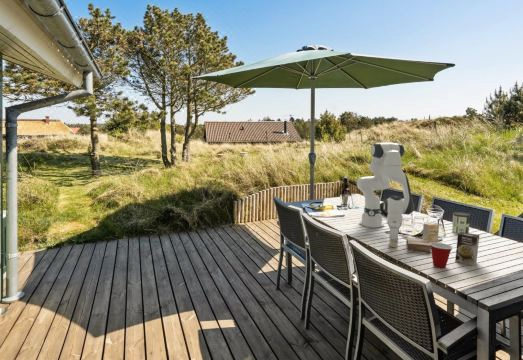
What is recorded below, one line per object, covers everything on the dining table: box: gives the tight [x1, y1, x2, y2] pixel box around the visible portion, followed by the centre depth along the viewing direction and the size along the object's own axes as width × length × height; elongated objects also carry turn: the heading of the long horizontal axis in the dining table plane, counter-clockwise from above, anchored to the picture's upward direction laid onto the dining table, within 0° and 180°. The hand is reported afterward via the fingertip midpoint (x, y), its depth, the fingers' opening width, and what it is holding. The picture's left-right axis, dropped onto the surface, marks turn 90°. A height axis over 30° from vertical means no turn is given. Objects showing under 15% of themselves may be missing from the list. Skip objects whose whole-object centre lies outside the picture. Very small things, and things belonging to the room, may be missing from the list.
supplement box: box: [422, 222, 440, 243], centre depth 195 cm, size 8×5×13 cm, turn 105°
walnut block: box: [405, 236, 431, 254], centre depth 187 cm, size 12×12×5 cm
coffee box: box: [455, 232, 480, 267], centre depth 165 cm, size 9×6×16 cm
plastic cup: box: [430, 242, 454, 269], centre depth 161 cm, size 11×11×12 cm
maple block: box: [388, 234, 399, 248], centre depth 192 cm, size 5×5×6 cm
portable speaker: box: [380, 201, 388, 216], centre depth 265 cm, size 26×10×10 cm, turn 2°
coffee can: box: [451, 211, 471, 235], centre depth 215 cm, size 10×10×14 cm
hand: (393, 242), depth 192 cm, fingers closed on maple block, 5 cm apart
